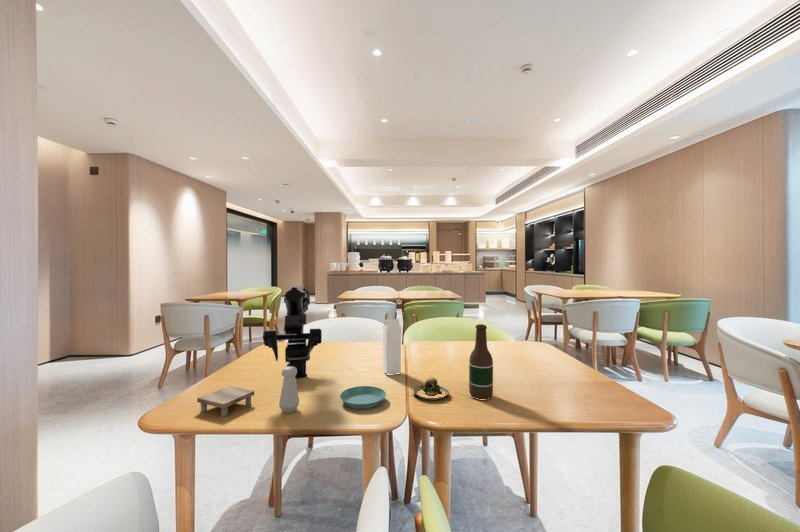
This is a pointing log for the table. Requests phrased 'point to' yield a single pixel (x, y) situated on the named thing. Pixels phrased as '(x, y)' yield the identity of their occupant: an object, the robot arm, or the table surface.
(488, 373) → the beer bottle
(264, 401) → the table surface
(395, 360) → the milk
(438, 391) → the plate of food
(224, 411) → the small stand
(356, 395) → the saucer
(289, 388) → the salt shaker
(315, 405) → the table surface
